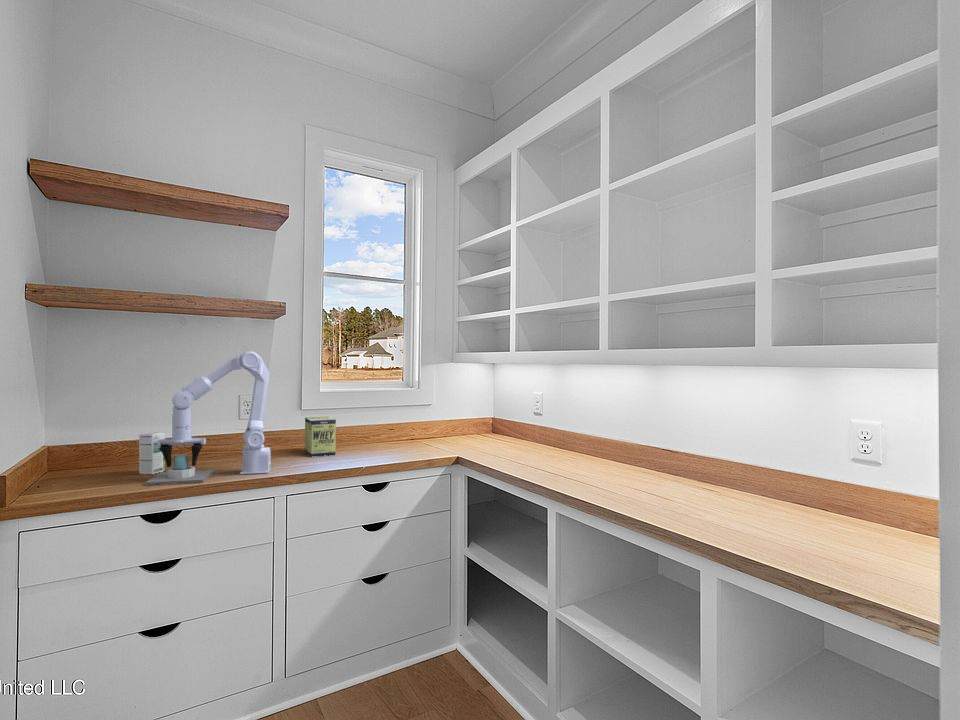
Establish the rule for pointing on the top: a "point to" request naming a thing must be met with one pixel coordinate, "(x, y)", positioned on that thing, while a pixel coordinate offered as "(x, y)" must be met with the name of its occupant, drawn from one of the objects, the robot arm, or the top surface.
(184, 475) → the gray square plate
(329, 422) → the protein box
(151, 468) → the syrup box
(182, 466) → the teal rounded cylinder
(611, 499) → the top surface
